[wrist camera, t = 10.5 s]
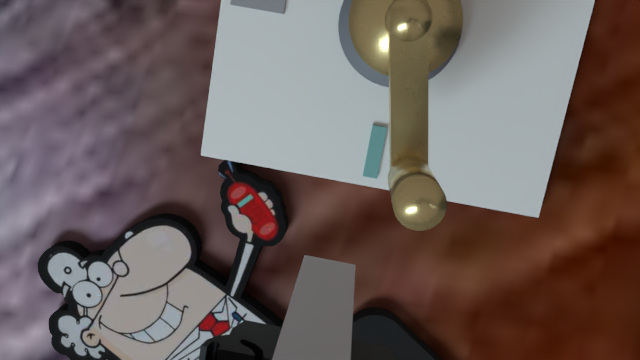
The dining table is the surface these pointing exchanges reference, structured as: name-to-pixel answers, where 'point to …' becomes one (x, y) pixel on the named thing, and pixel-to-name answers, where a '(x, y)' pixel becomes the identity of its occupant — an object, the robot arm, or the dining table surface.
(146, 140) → the dining table surface
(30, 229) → the dining table surface
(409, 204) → the brass lever knob
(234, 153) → the post board
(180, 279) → the sign
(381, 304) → the dining table surface
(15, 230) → the dining table surface
